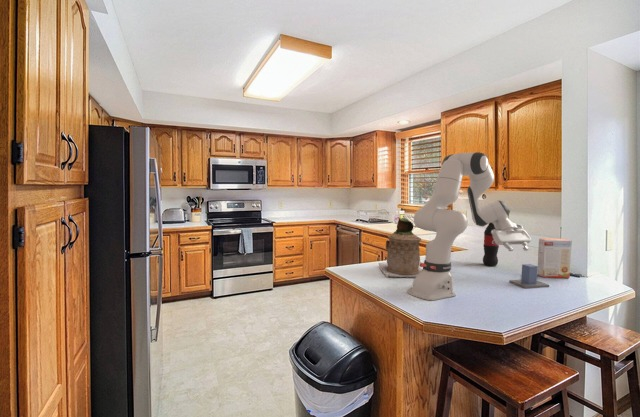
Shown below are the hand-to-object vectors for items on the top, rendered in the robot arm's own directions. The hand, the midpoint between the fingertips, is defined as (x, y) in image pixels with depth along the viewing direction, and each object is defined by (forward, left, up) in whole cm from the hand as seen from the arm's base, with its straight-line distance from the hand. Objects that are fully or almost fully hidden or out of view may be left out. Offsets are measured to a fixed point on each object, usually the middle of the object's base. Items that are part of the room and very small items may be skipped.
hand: (519, 250), depth 166 cm
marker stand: (-3, -6, -16) cm, 18 cm away
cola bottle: (+20, +24, -16) cm, 35 cm away
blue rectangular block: (-3, -6, -15) cm, 17 cm away
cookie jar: (-38, +46, -16) cm, 62 cm away
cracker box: (+24, -8, -16) cm, 30 cm away
